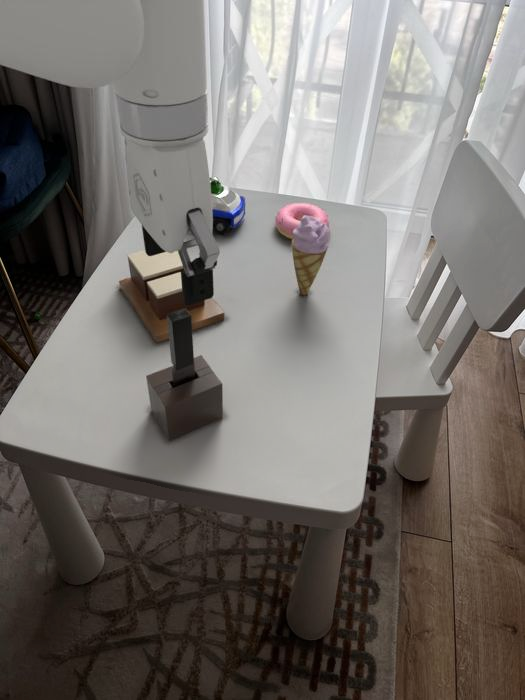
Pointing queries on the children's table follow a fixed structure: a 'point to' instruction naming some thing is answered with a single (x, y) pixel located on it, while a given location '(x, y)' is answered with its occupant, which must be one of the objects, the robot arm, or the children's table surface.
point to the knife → (181, 346)
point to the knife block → (185, 399)
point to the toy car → (225, 207)
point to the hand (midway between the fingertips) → (178, 274)
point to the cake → (152, 268)
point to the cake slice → (168, 296)
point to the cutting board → (160, 327)
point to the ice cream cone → (309, 250)
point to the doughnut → (297, 217)
